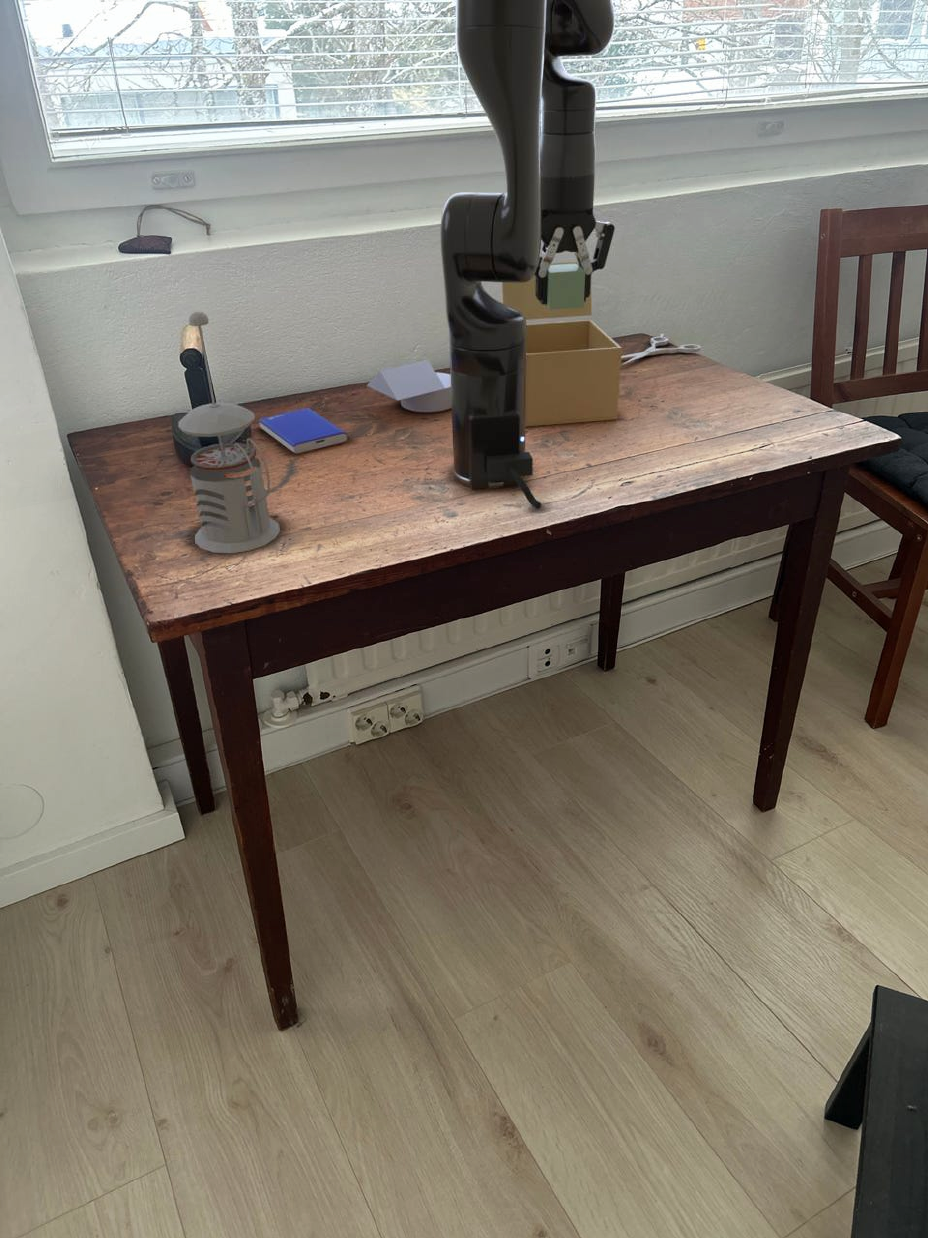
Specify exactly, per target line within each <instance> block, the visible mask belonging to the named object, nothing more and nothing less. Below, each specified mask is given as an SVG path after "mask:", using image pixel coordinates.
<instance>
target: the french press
mask: <svg viewBox="0 0 928 1238" xmlns="http://www.w3.org/2000/svg"><path fill="white" fill-rule="evenodd" d="M188 322H189V323H188V324H189V326H191V327H197V328H198V333H199V337H200V343H201V348H202V353H203V358H204V359H203V360H204V364H205V370H206V374H207V381H208V386H209V391H210V396H211V402H212V403H211V402H210V403H207V404H203V405H199V406H197V407H195V408H193V409H192V410H190V411H189V412H188V413H186V414H185V415H184V416H183V417H181V419H179V420H178V425H177V427H178V429H179V430H180V431H181V432H183V433H184V434H185V435H188V436H193V437H199V438H200V437H202V438H212V437H213V438H214V437H218V440H219V443H214V444H211V445H208V446H203V447H202V448H199V449H198V450H196V451H195V452H193V454H191V456H190V458H189V460H190V461H189V462H190V463H191V465H193V466H192V467H191V468H190V469H189V475H190V480H191V484H192V486H191V487H192V489H193V491H195V493H194V500H195V502H197V503H196V509H197V512H198V513H199V514H198V520H199V522H200V523H201V524H200V529H198V531H197V532H196V533H195V535H194V543H195V544H196V545H197V546H198V547H199V548H200V549H201V550H204V551H207V552H211V553H215V554H236V553H244V552H249V551H252V550H255V549H258V548H262V547H265V546H266V545H268V544H269V543H270V542H272V541H274V540H276V538H277V537H278V535H279V534H280V533H281V529H280V528H281V527H280V524H279V522H277V521H276V520H274V519H273V518H271V517H270V512H269V507H268V506H269V505H268V501H267V497H268V496H269V494H270V487H271V480H270V473H269V469H268V465H267V464H268V463H267V461H266V460H265V458H264V455H263V453H262V451H261V449H260V448H259V446H258V444H256V442H255V441H254V440H253V439H252V438H250V437H247V438H246V440H245V441H246V443H241V442H231V443H230V442H225V443H224V442H223V441H222V439H223V438H222V436H227V435H232V434H236V433H238V432H241V431H243V430H246V429H247V428H249V426H250V425H251V424H253V422H254V420H255V418H256V417H255V413H254V412H253V411H251V410H250V409H248V408H245V407H244V406H241V405H238V404H236V403H232V402H215V396H214V390H213V386H212V380H211V374H210V370H209V364H208V358H207V353H206V352H207V351H206V347H205V342H204V336H203V331H202V326H206V325H208V324H209V317H208V316H207V315H206V314H205V312H202V311H195V312H193V313H191V314H190V316H189V317H188ZM250 443H251V444H252V445H253V446H251V445H250ZM257 453H258V454H259V456H260V458H261V460H262V463H263V466H264V469H265V473H266V481H267V483H266V485H267V487H266V488H267V490H266V489H265V481H264V478H263V470H262V464H261V462H260V460H259V458H257V457H256V455H257ZM255 468H257V470H256V471H255ZM248 470H251V473H250V474H247V475H244V476H239V477H238V476H237V477H230V476H229V477H228V476H226V473H233V474H235V473H241V472H245V471H248ZM249 481H250V484H249V485H246V484H245V483H247V482H249ZM248 492H251V495H248V494H247V493H248Z"/></svg>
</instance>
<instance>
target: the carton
mask: <svg viewBox="0 0 928 1238" xmlns="http://www.w3.org/2000/svg"><path fill="white" fill-rule="evenodd" d="M526 326H527V334H526V423H525V428H526V427H538V426H539V427H540V426H550V425H563V424H574V423H586V422H587V423H588V422H600V421H613V420H617V419H618V413H619V397H620V381H621V366H622V358H621V356H622V353H623V347H621V345H620V344H618V343H617V341H615V340H614V339H613V338H612V337H611V336H610V335H608V334H607V333H606V332H605V330H603V329H602V328H601V327H600V326H598V324H597V323H596V322H594V321H593V320H592V319H584V320H569V321H568V320H566V321H554V322H539V323H526Z"/></svg>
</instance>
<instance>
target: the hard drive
mask: <svg viewBox="0 0 928 1238" xmlns="http://www.w3.org/2000/svg"><path fill="white" fill-rule="evenodd" d="M258 421H259V427H260V429H261V430H263V431H264V432H266V433H267V434H268V435H269V436H271V437H272V438H274V439H275V440H276V441H278V442H279V443H280V444H282V446H284V447H286V448H287V449H288V450H290V451H291V452H292V453H293V454H296V455H297V454H301V453H305V452H309V451H313V450H317V449H321V448H326V447H329V446H335V445H337V444H342V443H345V442H347V440H348V438H347V432H346V431H344V430H343V429H341V428H340V427H338V426H337V425H335V424H334V423H332V422H330V421H329V420H327V419H326V418H324V417H323V416H321V415H320V414H318V413H317V412H316V411H314V410H312V409H311V408H309V407H307V408H301V409H297V410H293V411H288V412H284V413H279V414H275V415H271V416H266V417H262V418H260V419H259V420H258Z"/></svg>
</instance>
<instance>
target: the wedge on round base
mask: <svg viewBox="0 0 928 1238" xmlns="http://www.w3.org/2000/svg"><path fill="white" fill-rule="evenodd" d="M366 387H368V388H370V389H373V390H374V391H377V392H379V393H381V394H382V395H385V396H386V397H389V398H391V399H393V400H396V401H400V405H401V407H402V408H404V409H406V410H408V411H411V412H416V413H417V412H418V413H435V412H436V413H437V412H442V411H446V410H450V409H452V403H451V374H449V373H445V372H436V371H435V369H434V368H433V366H432V365H431V363H430V361H429V360H428V359H424V360H420V361H416V362H412V363H407V364H402V365H399V366H394V367H390V368H385V369H381V370H379V371H378V372H377V373H376V374H375V376H373V378H372V379H371V380H370V381H369V382H368V384H366Z"/></svg>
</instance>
